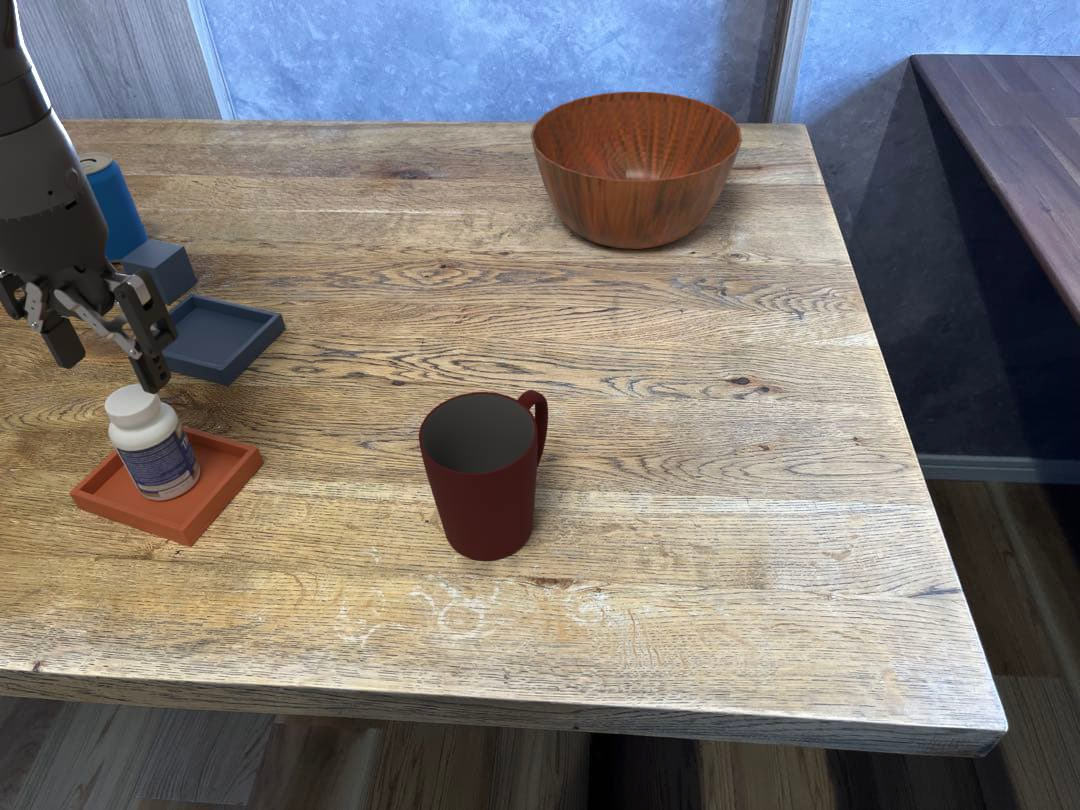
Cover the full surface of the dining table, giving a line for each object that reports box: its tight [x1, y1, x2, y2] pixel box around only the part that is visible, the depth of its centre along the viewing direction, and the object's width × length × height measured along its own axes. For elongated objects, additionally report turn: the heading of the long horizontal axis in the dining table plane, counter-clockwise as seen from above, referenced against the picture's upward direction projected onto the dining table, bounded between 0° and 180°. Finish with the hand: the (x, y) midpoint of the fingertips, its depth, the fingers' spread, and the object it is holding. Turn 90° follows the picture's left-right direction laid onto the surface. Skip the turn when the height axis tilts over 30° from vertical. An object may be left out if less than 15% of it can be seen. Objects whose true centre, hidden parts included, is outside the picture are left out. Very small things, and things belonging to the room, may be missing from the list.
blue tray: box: [153, 292, 287, 387], centre depth 87 cm, size 12×10×2 cm
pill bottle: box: [103, 383, 200, 501], centre depth 69 cm, size 5×5×10 cm
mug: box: [418, 389, 549, 561], centre depth 66 cm, size 12×9×11 cm
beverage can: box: [77, 151, 150, 264], centre depth 99 cm, size 6×6×12 cm
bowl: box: [530, 91, 743, 250], centre depth 101 cm, size 25×25×11 cm
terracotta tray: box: [68, 424, 264, 548], centre depth 72 cm, size 12×10×2 cm
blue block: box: [119, 238, 198, 306], centre depth 95 cm, size 5×5×5 cm
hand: (116, 374), depth 64 cm, fingers open, 8 cm apart
